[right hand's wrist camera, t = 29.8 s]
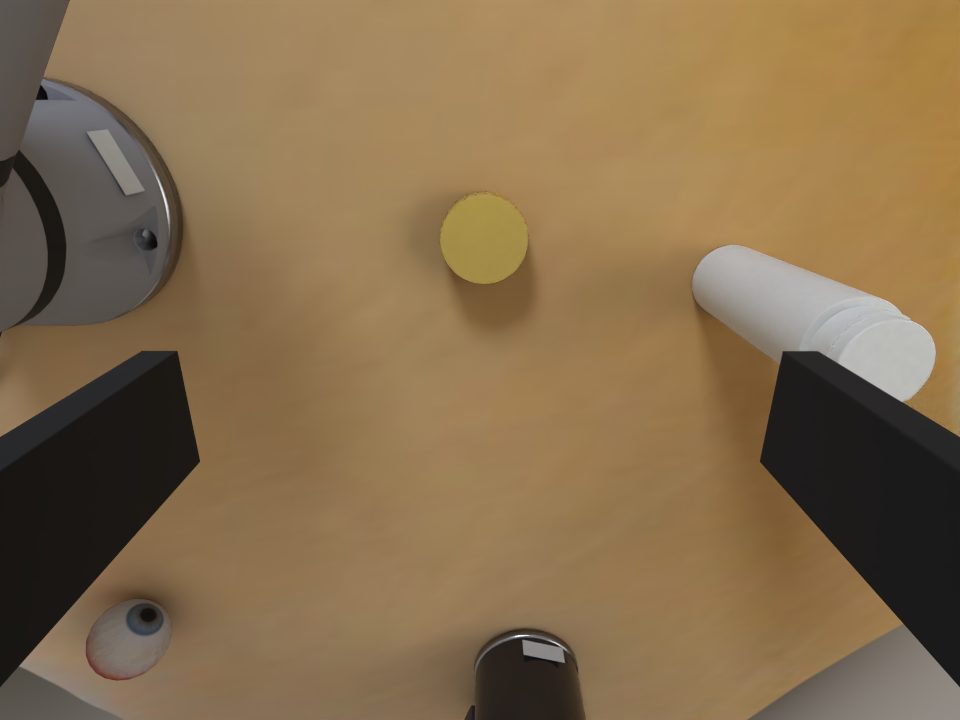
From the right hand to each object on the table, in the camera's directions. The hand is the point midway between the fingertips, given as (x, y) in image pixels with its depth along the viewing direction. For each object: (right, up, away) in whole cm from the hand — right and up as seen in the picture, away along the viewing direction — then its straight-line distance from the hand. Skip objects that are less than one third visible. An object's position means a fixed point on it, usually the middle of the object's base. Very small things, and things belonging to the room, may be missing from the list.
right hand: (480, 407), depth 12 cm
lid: (0, +9, +23) cm, 25 cm away
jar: (+17, +7, +26) cm, 32 cm away
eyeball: (-29, -21, +37) cm, 51 cm away
